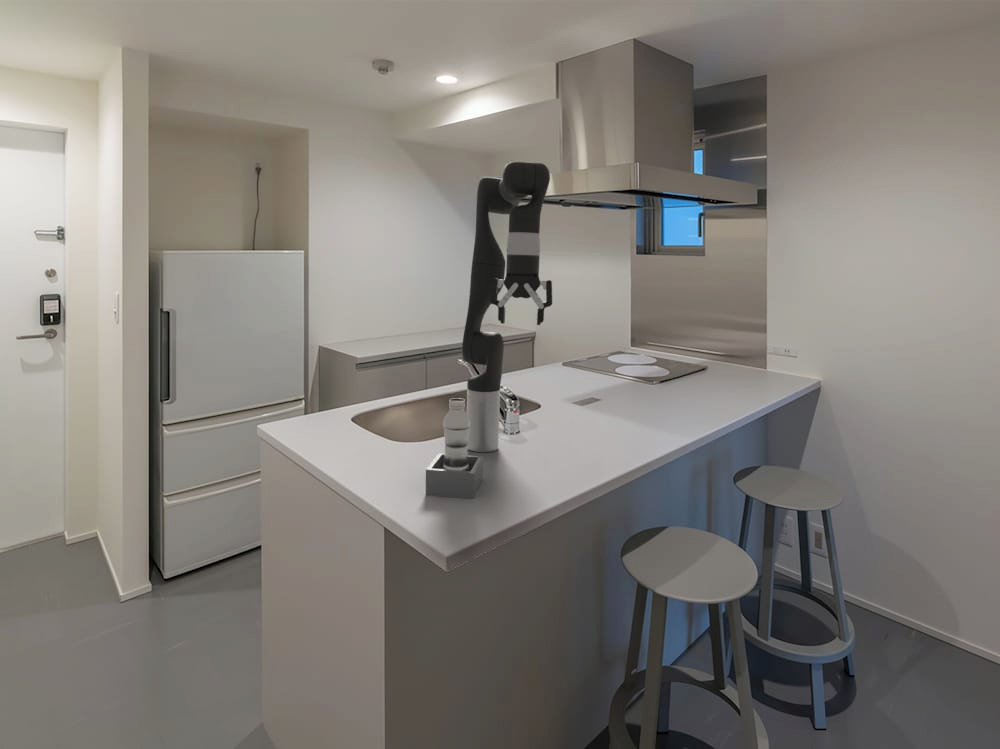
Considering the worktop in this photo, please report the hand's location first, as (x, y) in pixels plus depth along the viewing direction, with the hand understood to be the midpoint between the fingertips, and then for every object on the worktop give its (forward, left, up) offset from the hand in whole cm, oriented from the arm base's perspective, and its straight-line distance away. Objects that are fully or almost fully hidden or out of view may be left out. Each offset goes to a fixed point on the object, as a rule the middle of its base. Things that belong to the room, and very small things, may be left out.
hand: (520, 324), depth 139 cm
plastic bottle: (+9, -13, -37) cm, 40 cm away
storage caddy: (+9, -13, -38) cm, 41 cm away
